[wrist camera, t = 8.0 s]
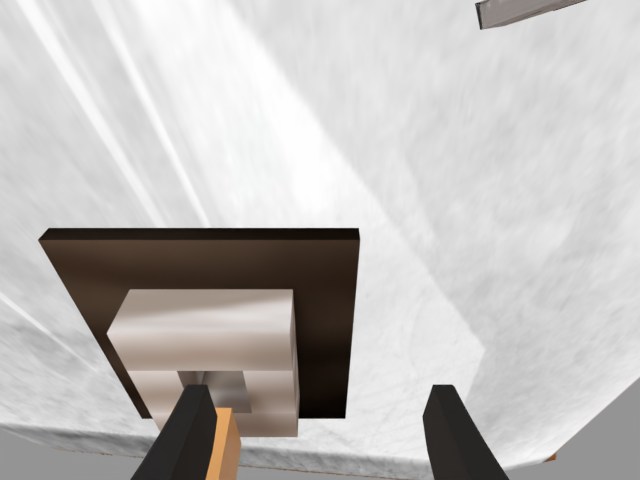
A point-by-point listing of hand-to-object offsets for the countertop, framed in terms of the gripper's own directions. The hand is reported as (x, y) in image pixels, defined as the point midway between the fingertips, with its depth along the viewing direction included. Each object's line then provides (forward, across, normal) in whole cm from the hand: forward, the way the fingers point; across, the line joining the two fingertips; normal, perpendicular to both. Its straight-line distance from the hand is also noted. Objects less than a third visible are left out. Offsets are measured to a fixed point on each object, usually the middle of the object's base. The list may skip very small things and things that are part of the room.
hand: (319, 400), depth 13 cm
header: (+9, -6, -9) cm, 14 cm away
